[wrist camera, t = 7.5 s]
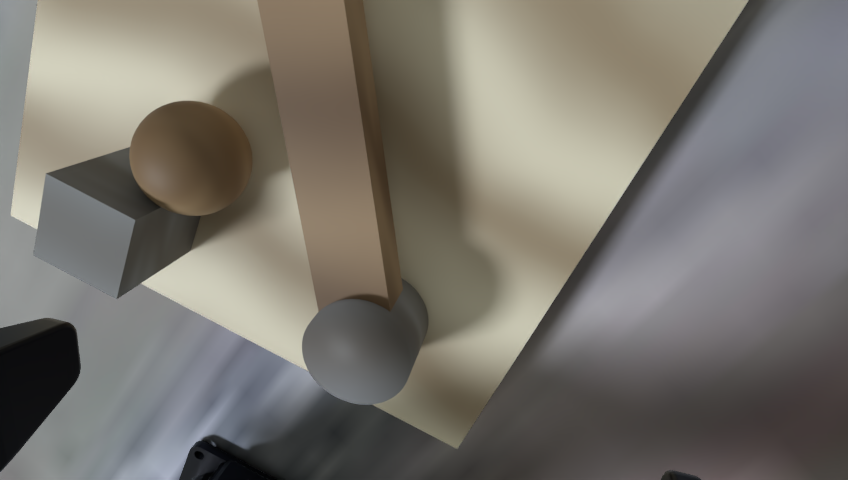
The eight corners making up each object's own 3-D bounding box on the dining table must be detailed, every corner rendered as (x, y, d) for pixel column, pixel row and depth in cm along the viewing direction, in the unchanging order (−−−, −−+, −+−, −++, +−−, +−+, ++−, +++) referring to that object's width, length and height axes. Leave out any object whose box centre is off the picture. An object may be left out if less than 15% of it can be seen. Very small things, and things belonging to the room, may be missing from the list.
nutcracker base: (463, 424, 24) (437, 533, 19) (41, 204, 24) (-93, 253, 19) (786, -83, 15) (895, -128, 10) (133, -402, 16) (-61, -590, 11)
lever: (433, 360, 21) (339, 625, 12) (340, 358, 22) (185, 604, 13) (368, -171, 15) (91, -436, 6) (245, -146, 16) (-153, -345, 7)
